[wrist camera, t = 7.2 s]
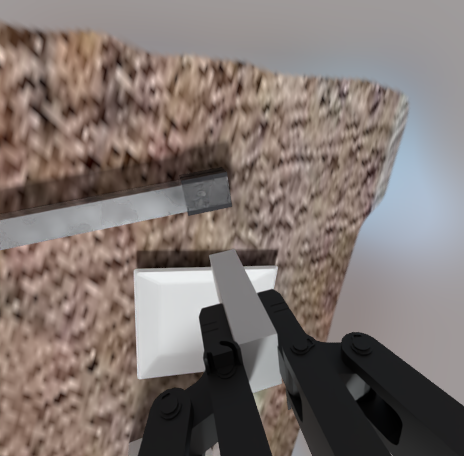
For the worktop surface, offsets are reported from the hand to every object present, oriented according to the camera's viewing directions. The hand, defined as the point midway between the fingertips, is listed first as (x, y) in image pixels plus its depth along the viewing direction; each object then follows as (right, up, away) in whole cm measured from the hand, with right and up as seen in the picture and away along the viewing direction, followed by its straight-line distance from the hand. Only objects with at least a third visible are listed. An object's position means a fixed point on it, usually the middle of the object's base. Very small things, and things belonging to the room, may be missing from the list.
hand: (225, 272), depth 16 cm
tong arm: (-13, +5, +13) cm, 19 cm away
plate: (-4, -10, +24) cm, 27 cm away
